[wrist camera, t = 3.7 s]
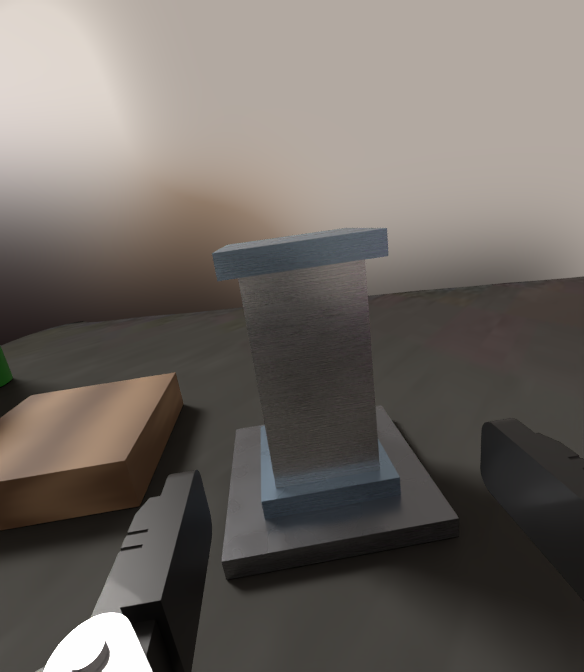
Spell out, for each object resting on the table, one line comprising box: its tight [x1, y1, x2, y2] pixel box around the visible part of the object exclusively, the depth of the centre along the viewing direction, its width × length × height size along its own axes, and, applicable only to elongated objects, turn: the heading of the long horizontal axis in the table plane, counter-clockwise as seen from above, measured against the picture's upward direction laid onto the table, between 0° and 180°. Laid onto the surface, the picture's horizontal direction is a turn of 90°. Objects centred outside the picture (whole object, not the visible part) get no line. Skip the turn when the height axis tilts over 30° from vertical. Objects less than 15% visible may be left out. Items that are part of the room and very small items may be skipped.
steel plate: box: [222, 405, 459, 580], centre depth 20 cm, size 10×10×1 cm
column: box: [212, 228, 401, 519], centre depth 18 cm, size 6×6×12 cm
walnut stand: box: [0, 372, 183, 530], centre depth 25 cm, size 12×12×3 cm
